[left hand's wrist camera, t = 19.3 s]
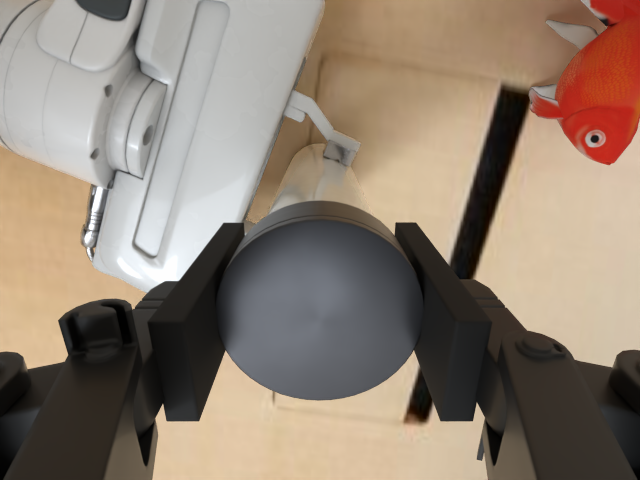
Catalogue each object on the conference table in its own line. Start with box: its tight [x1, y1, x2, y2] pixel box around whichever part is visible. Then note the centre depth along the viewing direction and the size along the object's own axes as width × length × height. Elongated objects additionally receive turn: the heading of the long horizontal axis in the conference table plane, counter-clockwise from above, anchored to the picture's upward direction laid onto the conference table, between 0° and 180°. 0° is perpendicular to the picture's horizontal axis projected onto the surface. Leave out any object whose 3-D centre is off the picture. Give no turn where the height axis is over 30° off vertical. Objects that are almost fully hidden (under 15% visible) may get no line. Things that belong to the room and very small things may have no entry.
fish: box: [529, 0, 640, 165], centre depth 21 cm, size 11×16×10 cm
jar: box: [265, 143, 374, 217], centre depth 20 cm, size 5×5×19 cm
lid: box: [215, 200, 424, 400], centre depth 11 cm, size 6×6×2 cm
